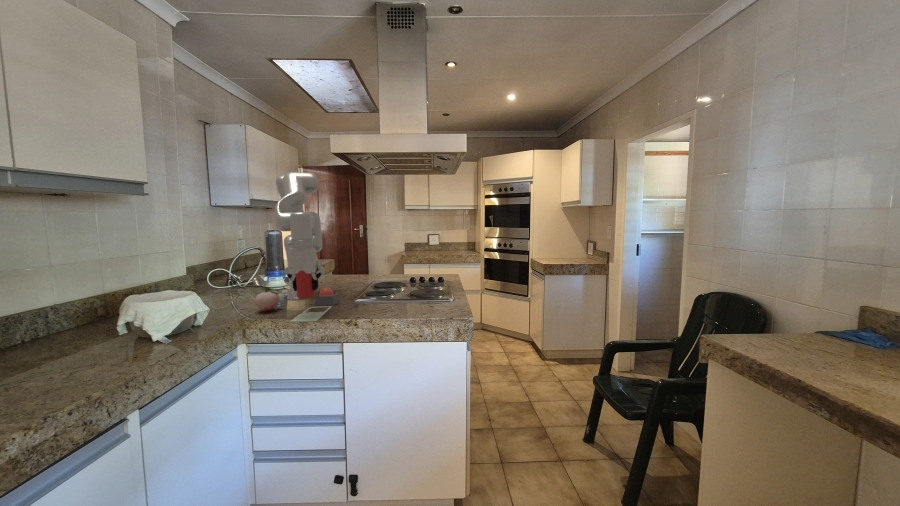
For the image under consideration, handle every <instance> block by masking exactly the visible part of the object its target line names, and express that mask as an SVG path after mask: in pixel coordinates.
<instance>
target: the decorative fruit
mask: <svg viewBox="0 0 900 506" xmlns="http://www.w3.org/2000/svg"><path fill="white" fill-rule="evenodd" d="M279 294H280V293H279V292H278V291H276V290H272V289H270V290H268V287H267V288H265V290H259V291H257V292H256V293H255V299H254V300H255V304H256V306H257V308H258V309H259V310H262V311H265V312H270V311H272V310H273V309H275V308H276V307H277V306H279V303H280V299H281V298H280V295H279Z"/></svg>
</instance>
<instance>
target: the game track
mask: <svg viewBox="0 0 900 506" xmlns="http://www.w3.org/2000/svg"><path fill="white" fill-rule="evenodd" d="M333 293H334V295H333V296H319V294H320V292H319V293H318V294H316V295H315V297H314V306H310V307H309V308H307V309H306V310H304V311H303V312H302V313H299V314H297V315H296V316H295V317H294V318H293V319H291V320H290V321H289V323H307V322H308V323H309V322H317V321H319V320H320V319H321V318H322V317H323V316H325V314H326V313H327V312H328V311H329V310H330V309H331V308H332V307H334V306H336V305H337V303H338V302H339V292H338V291H335V292H334V291H333ZM314 308H315V309H318V308H319V309H321V308H327V309H325V311H317V312H316V311H315V312H308V311H309V310H311V309H314Z"/></svg>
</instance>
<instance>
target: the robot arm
mask: <svg viewBox="0 0 900 506" xmlns="http://www.w3.org/2000/svg"><path fill="white" fill-rule="evenodd" d="M275 185H276V189H277V192H278V194H279V196H280V199H279V200H278V201H277V203H276V204H275V207H274V220H275V222H274V223H275V226H276V227H275V228H277V230H278V231H280V232H290V234H287V236H285V237H284V239H283V247H284V251H285V256H286V262H287V263H286V264H287V266H286V268H284V269H283V274H284V275H286V276H287V278H288V285H289V287H288V289H281V293H282V295H287V296H286V299H287V300H291V301H299V300H301V299H299V298H297V287H296V275H295V274H298V272H299V271H302V270H303V271H304V272H306V273H307V274H311V275H312V277H313V281H312V283H313V290H315V291H316V290H317V289H318V288H319V278H320V277H321V276H322V275H323V274H324V273H325V271H326V268H325V267H324V266H323V265H321V264H320V263H319V258H318V254H317V253H319V252H321V251H322V249H323V236H322V225H321V218H320V216H319V214H318V212H316V211H315V212H314V211H304V205H305V204H306V202H307V199H308V196H307V194H315V193H316V192H317V191H318V190H319V186H320V184H319V179H318V176H317V175H316V174H315V173H313V172H306V171H304V172H302V171H290V172H287V173H285V174H281V175H279V176H277V177H276V179H275ZM318 271H319V272H318Z"/></svg>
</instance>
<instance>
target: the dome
mask: <svg viewBox="0 0 900 506" xmlns="http://www.w3.org/2000/svg"><path fill="white" fill-rule="evenodd" d="M333 292H334V290H333V289H332V288H331V287H326V286H324V287H323V288H321V289H320V291H319V293H320V294H319V293H318V294H319V296H333V295H334V293H333Z"/></svg>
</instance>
